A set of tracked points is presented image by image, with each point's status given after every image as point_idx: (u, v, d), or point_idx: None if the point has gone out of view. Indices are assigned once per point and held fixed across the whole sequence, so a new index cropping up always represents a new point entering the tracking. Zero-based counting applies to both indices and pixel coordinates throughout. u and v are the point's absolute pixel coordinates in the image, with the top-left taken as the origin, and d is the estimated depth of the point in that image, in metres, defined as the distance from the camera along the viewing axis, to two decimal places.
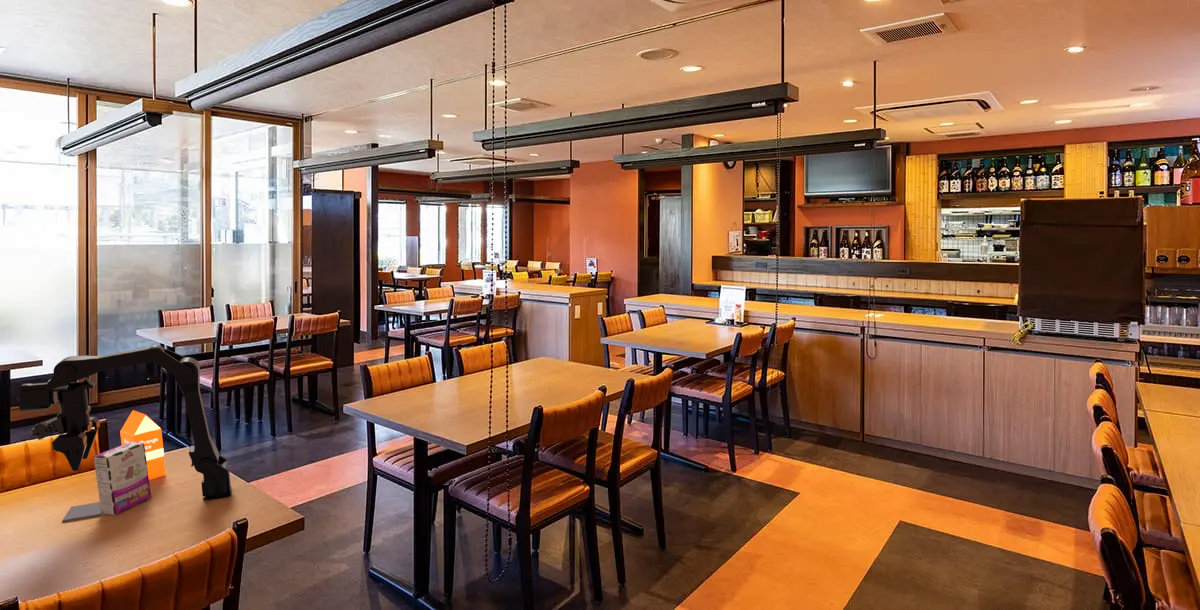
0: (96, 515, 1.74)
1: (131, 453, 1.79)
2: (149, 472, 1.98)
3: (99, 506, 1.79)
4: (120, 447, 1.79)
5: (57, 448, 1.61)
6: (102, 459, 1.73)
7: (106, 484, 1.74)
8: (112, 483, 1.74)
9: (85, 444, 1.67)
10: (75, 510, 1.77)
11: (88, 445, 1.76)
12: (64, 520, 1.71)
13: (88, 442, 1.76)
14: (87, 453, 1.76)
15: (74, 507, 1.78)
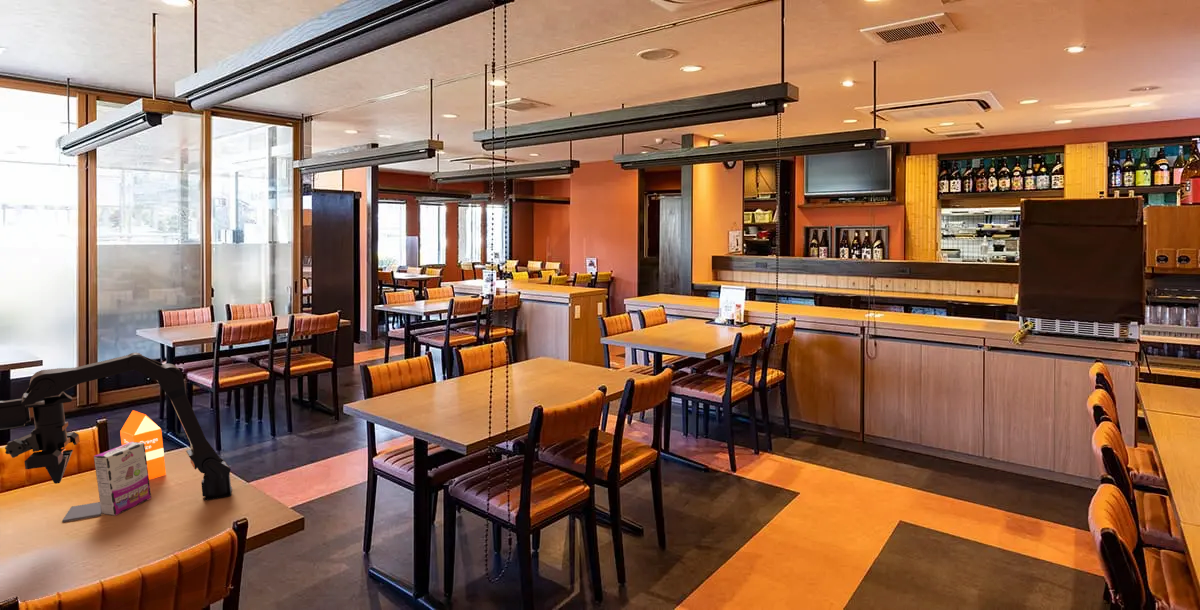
0: (96, 515, 1.74)
1: (131, 453, 1.79)
2: (149, 472, 1.98)
3: (99, 506, 1.79)
4: (120, 447, 1.79)
5: (30, 467, 1.54)
6: (102, 459, 1.73)
7: (106, 484, 1.74)
8: (112, 483, 1.74)
9: (66, 456, 1.62)
10: (75, 510, 1.77)
11: None
12: (64, 520, 1.71)
13: None
14: None
15: (74, 507, 1.78)
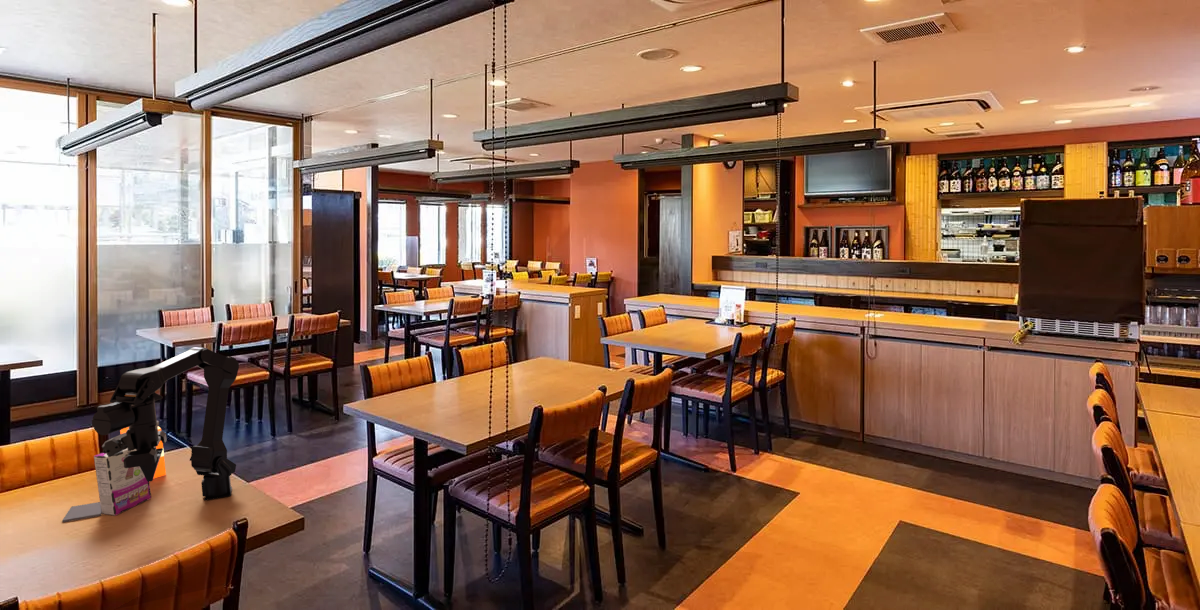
0: (96, 515, 1.74)
1: None
2: None
3: (99, 506, 1.79)
4: None
5: (129, 466, 1.56)
6: (102, 459, 1.73)
7: (106, 484, 1.74)
8: (112, 483, 1.74)
9: (159, 455, 1.65)
10: (75, 510, 1.77)
11: None
12: (64, 520, 1.71)
13: None
14: None
15: (74, 507, 1.78)
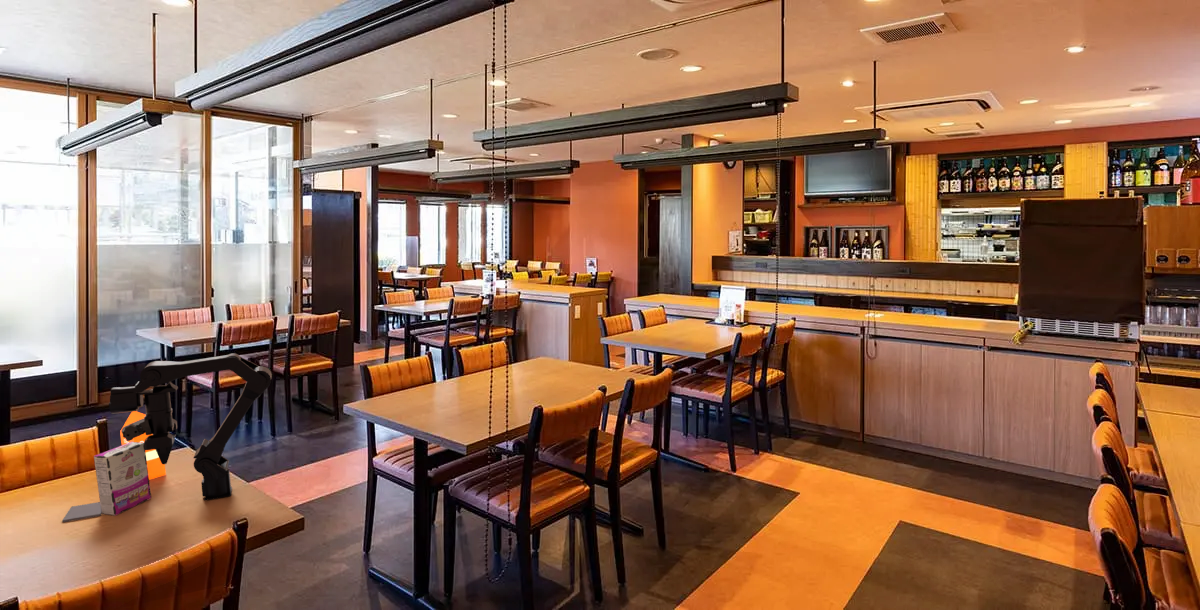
0: (96, 515, 1.74)
1: (131, 453, 1.79)
2: (149, 472, 1.98)
3: (99, 506, 1.79)
4: (120, 447, 1.79)
5: (149, 448, 1.71)
6: (102, 459, 1.73)
7: (106, 484, 1.74)
8: (112, 483, 1.74)
9: (173, 439, 1.80)
10: (75, 510, 1.77)
11: None
12: (64, 520, 1.71)
13: None
14: None
15: (74, 507, 1.78)
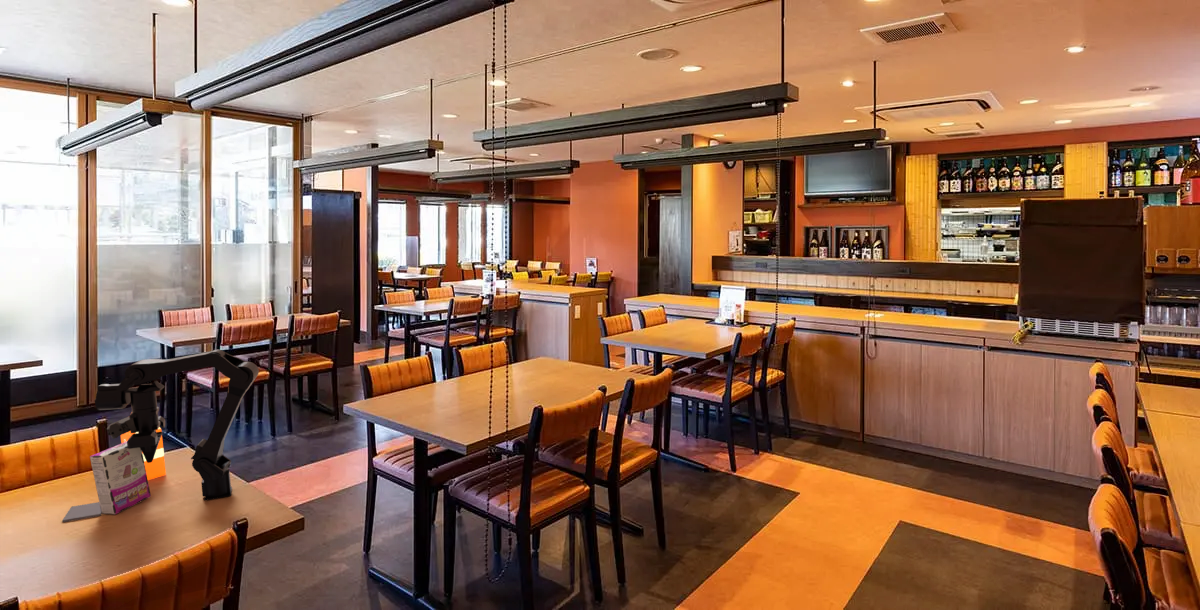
0: (96, 515, 1.74)
1: (127, 452, 1.79)
2: (149, 472, 1.98)
3: (99, 506, 1.79)
4: (116, 447, 1.79)
5: (132, 447, 1.72)
6: (98, 458, 1.73)
7: (104, 483, 1.74)
8: (110, 482, 1.74)
9: (158, 438, 1.80)
10: (75, 510, 1.77)
11: None
12: (64, 520, 1.71)
13: None
14: None
15: (74, 507, 1.78)
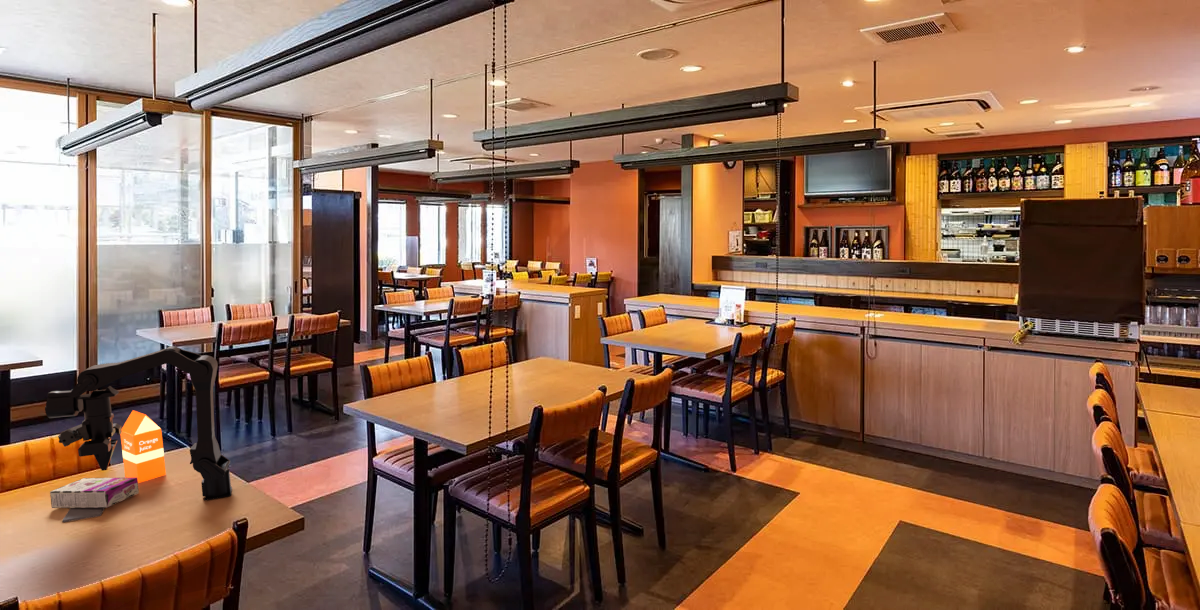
0: (96, 515, 1.74)
1: (75, 482, 1.84)
2: (149, 472, 1.98)
3: None
4: None
5: (83, 454, 1.67)
6: (51, 497, 1.77)
7: (75, 496, 1.77)
8: (76, 490, 1.77)
9: (113, 445, 1.76)
10: (75, 510, 1.77)
11: None
12: (64, 520, 1.71)
13: None
14: None
15: None
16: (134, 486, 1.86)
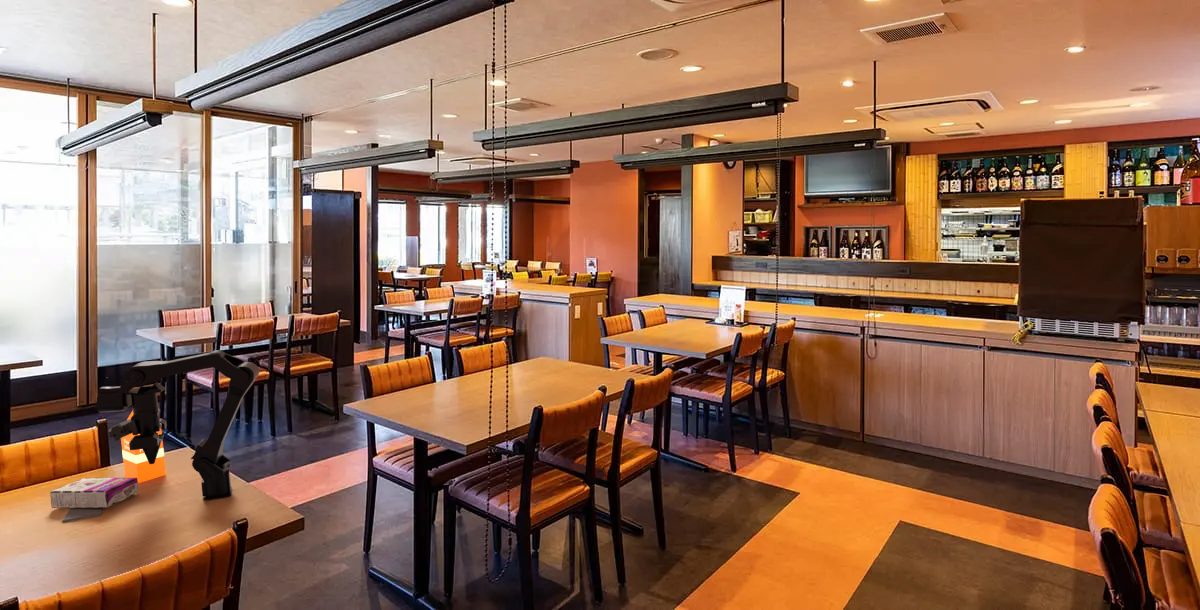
0: (96, 515, 1.74)
1: (75, 482, 1.84)
2: (149, 472, 1.98)
3: None
4: None
5: (134, 448, 1.72)
6: (51, 497, 1.77)
7: (75, 496, 1.77)
8: (76, 490, 1.77)
9: (160, 439, 1.81)
10: (75, 510, 1.77)
11: None
12: (64, 520, 1.71)
13: None
14: None
15: None
16: (134, 486, 1.86)
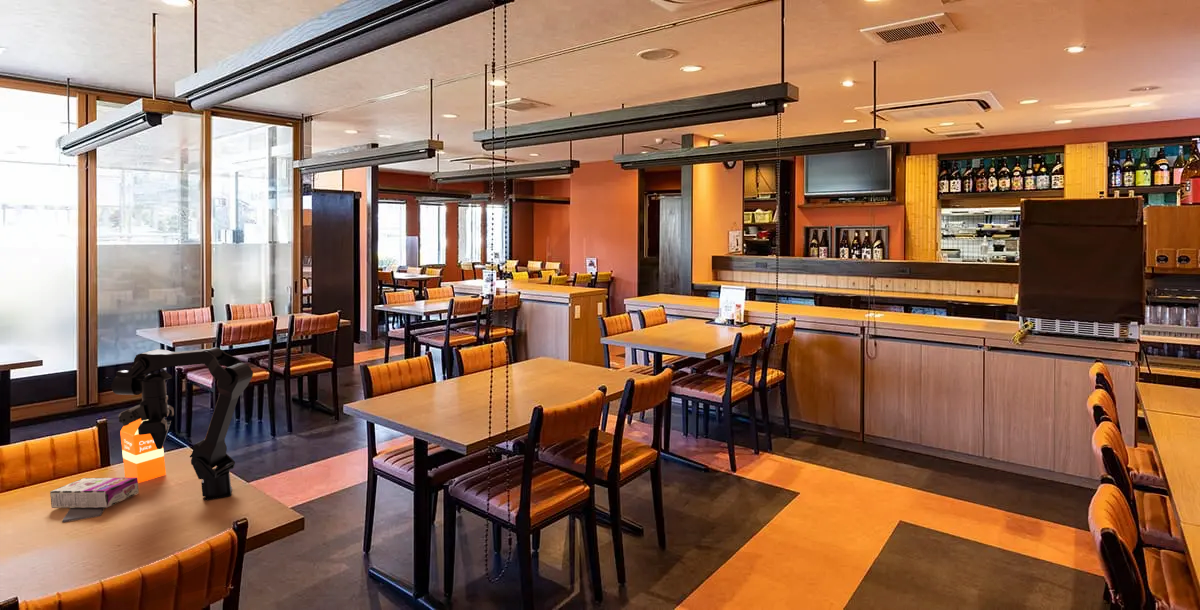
0: (96, 515, 1.74)
1: (75, 482, 1.84)
2: (149, 472, 1.98)
3: None
4: None
5: (143, 433, 1.77)
6: (51, 497, 1.77)
7: (75, 496, 1.77)
8: (76, 490, 1.77)
9: (168, 425, 1.86)
10: (75, 510, 1.77)
11: None
12: (64, 520, 1.71)
13: None
14: None
15: None
16: (134, 486, 1.86)
